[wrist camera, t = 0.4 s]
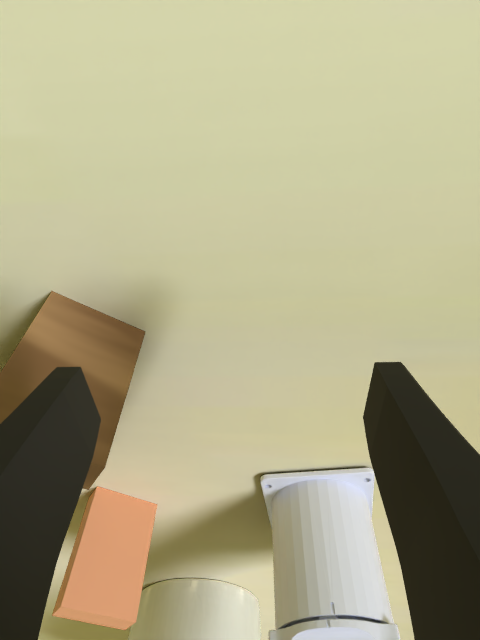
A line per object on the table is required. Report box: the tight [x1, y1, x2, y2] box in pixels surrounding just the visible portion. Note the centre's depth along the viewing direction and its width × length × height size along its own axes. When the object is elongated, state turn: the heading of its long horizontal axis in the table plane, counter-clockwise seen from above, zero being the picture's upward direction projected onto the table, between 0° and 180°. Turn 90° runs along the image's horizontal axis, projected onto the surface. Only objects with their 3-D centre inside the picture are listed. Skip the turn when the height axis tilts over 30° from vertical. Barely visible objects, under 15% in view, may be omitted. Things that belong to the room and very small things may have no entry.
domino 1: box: [0, 291, 145, 490], centre depth 19 cm, size 2×5×8 cm, turn 59°
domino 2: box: [52, 486, 157, 630], centre depth 31 cm, size 2×5×8 cm, turn 59°
